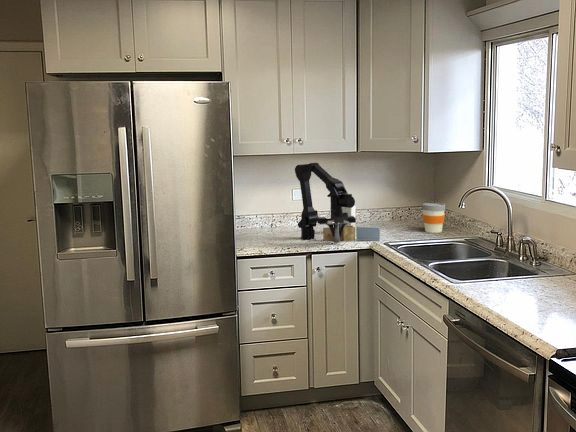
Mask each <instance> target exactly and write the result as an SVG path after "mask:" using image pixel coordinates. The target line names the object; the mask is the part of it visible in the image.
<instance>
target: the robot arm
mask: <svg viewBox="0 0 576 432" xmlns="http://www.w3.org/2000/svg"><path fill="white" fill-rule="evenodd" d="M294 173H295V177H296V178H297V180H298V181H299V184H300V185H299V186H300V191H301V193H300V194H301V200H302V207H303V209H302V212H301V215H300V216H301V219H300V220H299V221H298V222H297V227H298V228H299V229H300V232H301V233H300V235H301V236H300V239H301V240H315V237H316V233H315V227H317V224H318V225H326V226H328V227H329V228H330V230H331V233H332V236H333V237H334V229H333V227H334V225H333V223H340V237H341V234H342V231H343V228H344V226H345V225H347V221H348V222H350V223H355V224H356V221H357V219H356V218H357V217H356V216H355V217H354V216H348V213H343V212H342V207H347V208H352V207H353V206H356V200H355V198H354V196H353V194H352V193H348V191H347V189H346V187H345V185H344V183H343V181H342V180H340V179H339V178H335V177H333V176H332V175H330V173H328V172H327V171H326V170H325V169H324V168H323V166H321V165H320V163H318V162H310V163H303V164H297V165H296V166H295V167H294ZM312 173H313V174H314V175H315V176H316V177H317V178H319V180H321V181H322V183H324V185H325V188H326V189H327V191H328V192H329V194H327V195H326V196H327V197H328V198H330V209H329V210H330V218H327V217H326V216H319V214H318V213H319V212H318V210H315V208H314V207H313V198H312V192H311V191H312V190H311V183H310V179H311V177H312Z"/></svg>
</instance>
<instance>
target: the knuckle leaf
mask: <svg viewBox="0 0 576 432" xmlns="http://www.w3.org/2000/svg"><path fill="white" fill-rule="evenodd" d="M322 229H323V230H322V237H323V242H334V237H333V236H332V233H331V230H330V228H329V226H328V227H323V228H322ZM333 229H334V226H333ZM353 240H355V241H356V226H355V227H354V226H352V225H350V226H344V228H343V231H342V234H341V237H340V241H343V242H353Z"/></svg>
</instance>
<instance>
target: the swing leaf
mask: <svg viewBox="0 0 576 432" xmlns="http://www.w3.org/2000/svg"><path fill="white" fill-rule="evenodd" d="M355 234H356V240H357V241H362V240H363V241H381V227H379V226H355Z"/></svg>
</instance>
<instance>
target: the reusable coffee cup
mask: <svg viewBox="0 0 576 432" xmlns="http://www.w3.org/2000/svg"><path fill="white" fill-rule="evenodd" d="M421 210H422V220H423V221H422V222H423V224H424V231H425V232H426V233H433V234H436V233H437V234H438V233H442V232H443V227H444V226H443V225H444V222H445V217H446V214H445V211H446V203H441V202H425V203H422V207H421Z"/></svg>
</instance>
